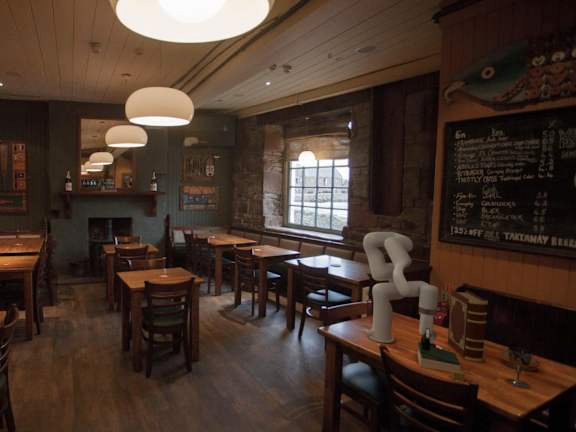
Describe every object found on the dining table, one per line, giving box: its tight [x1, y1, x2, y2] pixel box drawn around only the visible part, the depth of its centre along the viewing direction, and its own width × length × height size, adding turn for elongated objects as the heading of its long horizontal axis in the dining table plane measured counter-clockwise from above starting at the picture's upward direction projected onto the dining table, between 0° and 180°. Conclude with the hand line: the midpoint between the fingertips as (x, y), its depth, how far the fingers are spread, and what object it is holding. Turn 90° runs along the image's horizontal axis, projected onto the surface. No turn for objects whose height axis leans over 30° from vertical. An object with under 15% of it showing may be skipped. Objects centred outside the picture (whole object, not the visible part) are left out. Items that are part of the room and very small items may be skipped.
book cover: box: [417, 341, 461, 366], centre depth 186 cm, size 16×13×5 cm
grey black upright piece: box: [430, 329, 438, 348], centre depth 204 cm, size 6×8×11 cm
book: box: [417, 348, 461, 373], centre depth 187 cm, size 16×13×4 cm
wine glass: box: [506, 346, 533, 389], centre depth 168 cm, size 8×8×15 cm
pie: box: [498, 350, 542, 372], centre depth 186 cm, size 16×16×5 cm
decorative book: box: [447, 289, 489, 363], centre depth 200 cm, size 22×8×30 cm, turn 168°
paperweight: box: [451, 369, 465, 382], centre depth 172 cm, size 4×4×4 cm
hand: (425, 347), depth 188 cm, fingers closed on book cover, 5 cm apart
